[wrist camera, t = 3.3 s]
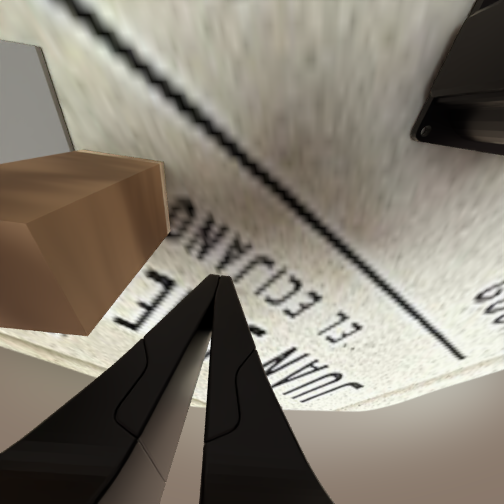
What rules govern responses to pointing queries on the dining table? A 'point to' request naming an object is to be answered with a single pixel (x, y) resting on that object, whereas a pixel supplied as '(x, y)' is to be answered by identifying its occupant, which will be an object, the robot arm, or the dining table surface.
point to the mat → (28, 106)
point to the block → (75, 236)
